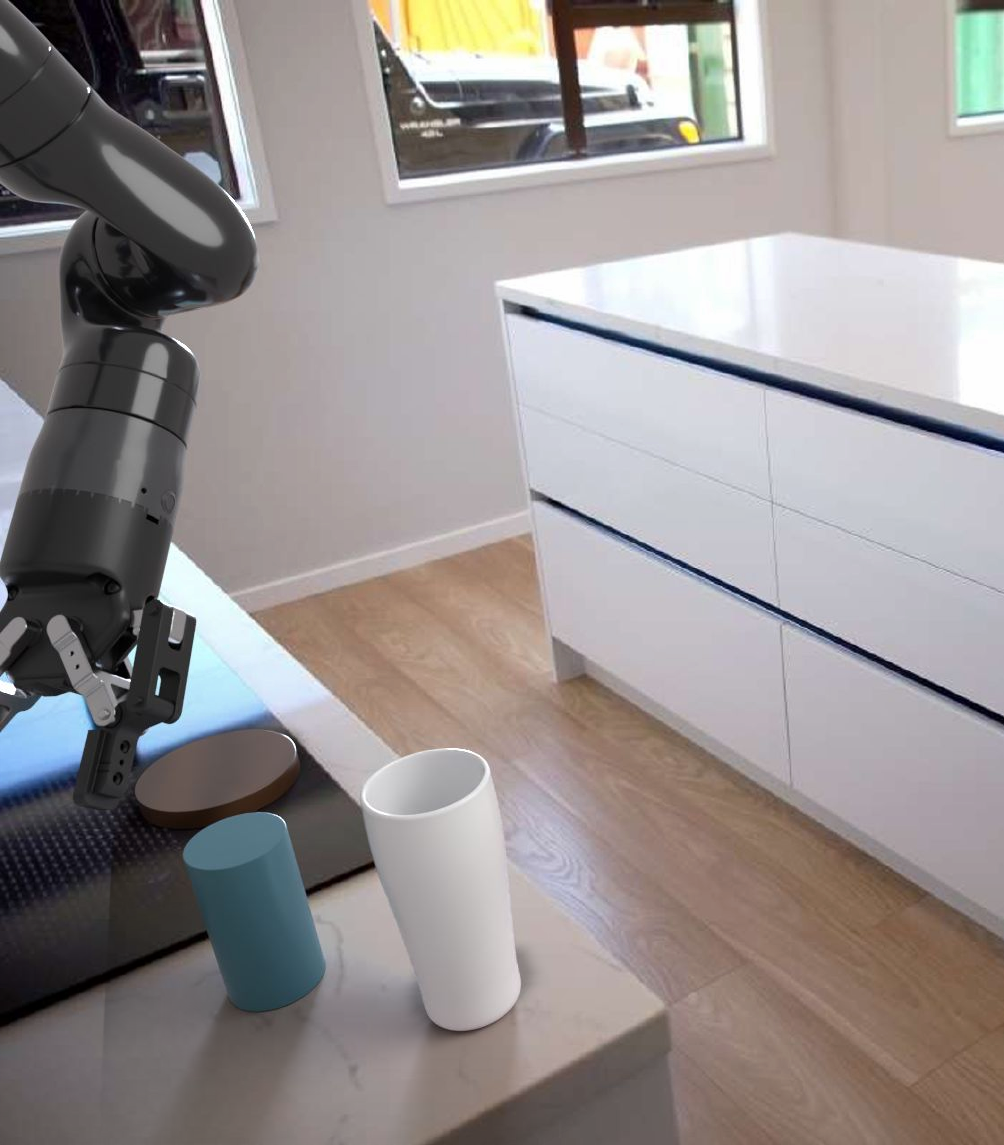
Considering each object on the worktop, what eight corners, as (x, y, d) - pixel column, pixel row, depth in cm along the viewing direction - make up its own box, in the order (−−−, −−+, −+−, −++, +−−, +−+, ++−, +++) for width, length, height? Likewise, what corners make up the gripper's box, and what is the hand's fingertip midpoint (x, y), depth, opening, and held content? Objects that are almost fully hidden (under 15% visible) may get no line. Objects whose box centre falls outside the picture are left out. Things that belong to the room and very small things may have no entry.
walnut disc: (139, 847, 90) (133, 829, 90) (140, 771, 99) (135, 755, 99) (307, 799, 95) (302, 782, 94) (293, 731, 104) (289, 715, 103)
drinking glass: (388, 1032, 73) (329, 808, 66) (458, 952, 78) (409, 739, 72) (493, 1056, 70) (442, 827, 64) (557, 972, 76) (515, 754, 70)
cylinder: (230, 1024, 74) (183, 881, 70) (226, 967, 78) (181, 830, 74) (330, 990, 76) (290, 850, 72) (320, 937, 80) (282, 801, 76)
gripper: (-68, 493, 69) (-159, 797, 64) (157, 473, 66) (82, 792, 60) (46, 544, 76) (-27, 823, 70) (256, 528, 73) (196, 820, 67)
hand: (23, 808), depth 65 cm, fingers open, 8 cm apart
